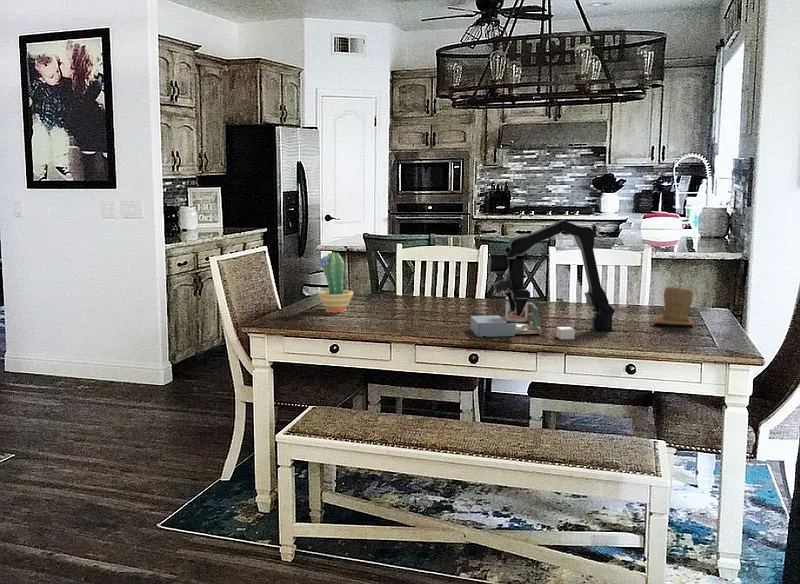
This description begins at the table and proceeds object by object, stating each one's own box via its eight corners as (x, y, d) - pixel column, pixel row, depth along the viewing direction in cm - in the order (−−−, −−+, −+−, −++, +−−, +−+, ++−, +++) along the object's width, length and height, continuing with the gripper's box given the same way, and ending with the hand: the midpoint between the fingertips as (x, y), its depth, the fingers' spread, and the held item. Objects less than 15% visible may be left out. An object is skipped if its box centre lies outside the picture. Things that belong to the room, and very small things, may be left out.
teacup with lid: (504, 322, 309) (505, 293, 307) (504, 318, 318) (505, 289, 316) (535, 323, 307) (536, 293, 306) (534, 318, 316) (535, 290, 314)
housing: (505, 328, 297) (506, 315, 296) (514, 335, 283) (515, 322, 282) (470, 329, 296) (470, 316, 295) (477, 336, 282) (478, 323, 281)
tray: (531, 326, 297) (532, 304, 296) (540, 333, 284) (541, 310, 283) (496, 327, 296) (496, 305, 295) (504, 334, 283) (504, 311, 282)
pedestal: (569, 336, 283) (570, 326, 282) (574, 339, 278) (574, 329, 277) (556, 336, 282) (556, 326, 282) (560, 339, 277) (560, 329, 277)
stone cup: (692, 322, 308) (694, 285, 305) (694, 328, 296) (696, 289, 294) (651, 320, 312) (653, 283, 310) (652, 326, 301) (654, 287, 298)
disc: (522, 327, 294) (522, 322, 294) (527, 330, 287) (527, 326, 287) (504, 327, 293) (504, 323, 293) (508, 331, 286) (508, 326, 286)
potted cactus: (321, 307, 344) (320, 250, 340) (356, 308, 342) (355, 251, 338) (314, 313, 328) (313, 254, 325) (350, 314, 327) (350, 254, 323)
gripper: (489, 269, 295) (488, 309, 298) (500, 275, 277) (499, 318, 279) (518, 268, 296) (517, 309, 299) (531, 275, 278) (530, 318, 280)
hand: (515, 313), depth 289 cm, fingers open, 9 cm apart
